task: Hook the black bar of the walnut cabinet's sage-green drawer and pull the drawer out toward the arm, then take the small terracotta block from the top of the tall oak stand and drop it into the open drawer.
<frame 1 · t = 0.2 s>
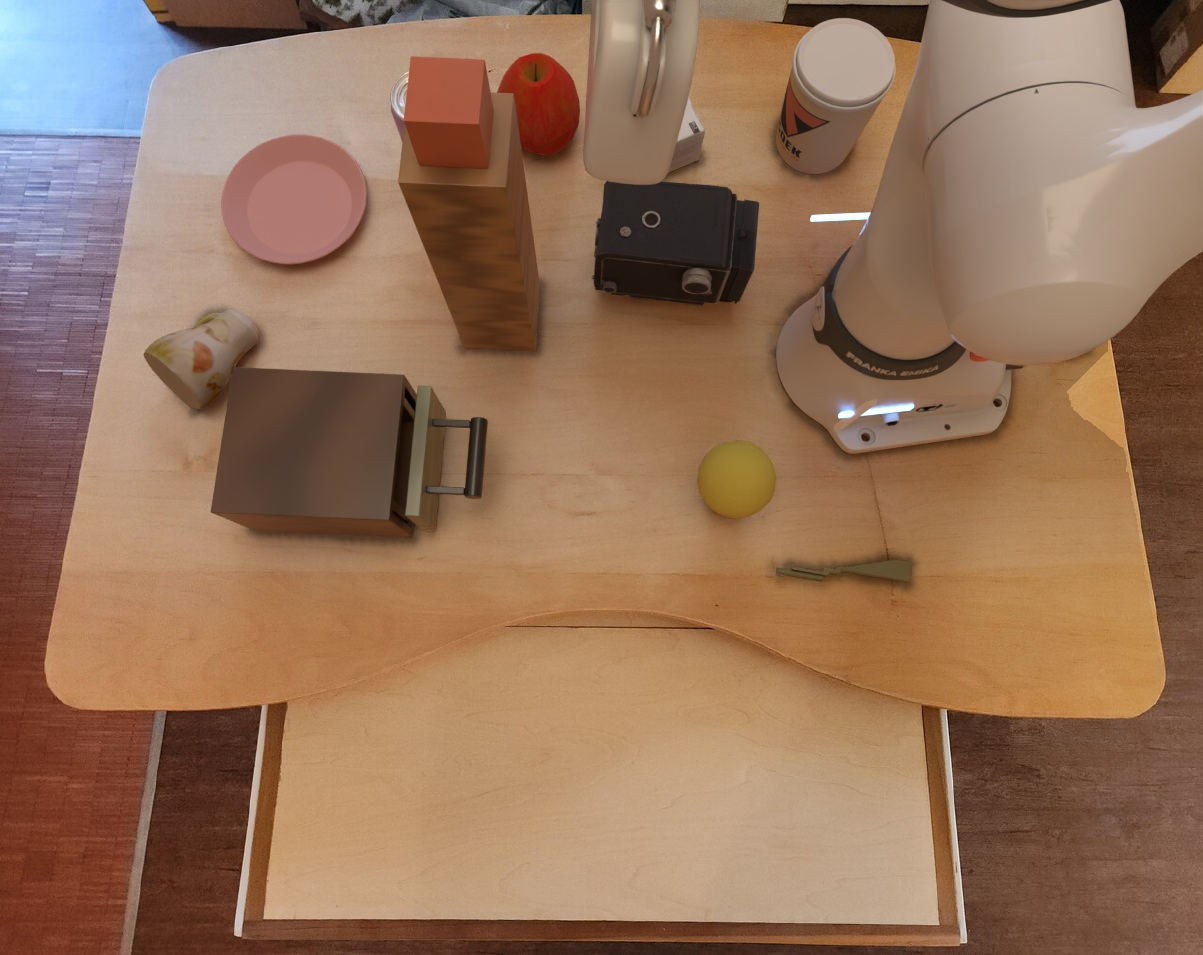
hand: (617, 69, 43), 39 cm above the table, tool pointing down, fingers open, 8 cm apart
beverage can: (453, 196, 84), on the table
drawer: (384, 458, 73), point 5 cm above the table, slide at 1.0 cm
cabinet: (341, 468, 77), on the table
block: (456, 137, 54), point 28 cm above the table, touching stand
coffee cup: (811, 143, 86), on the table
apple: (541, 137, 86), on the table
plate: (301, 209, 84), on the table
yellow rounded piece: (724, 495, 77), on the table
mug: (220, 362, 80), on the table
toy shotgun: (841, 570, 76), on the table
stand: (502, 316, 81), on the table
camera: (666, 278, 82), on the table
small box: (650, 146, 86), on the table
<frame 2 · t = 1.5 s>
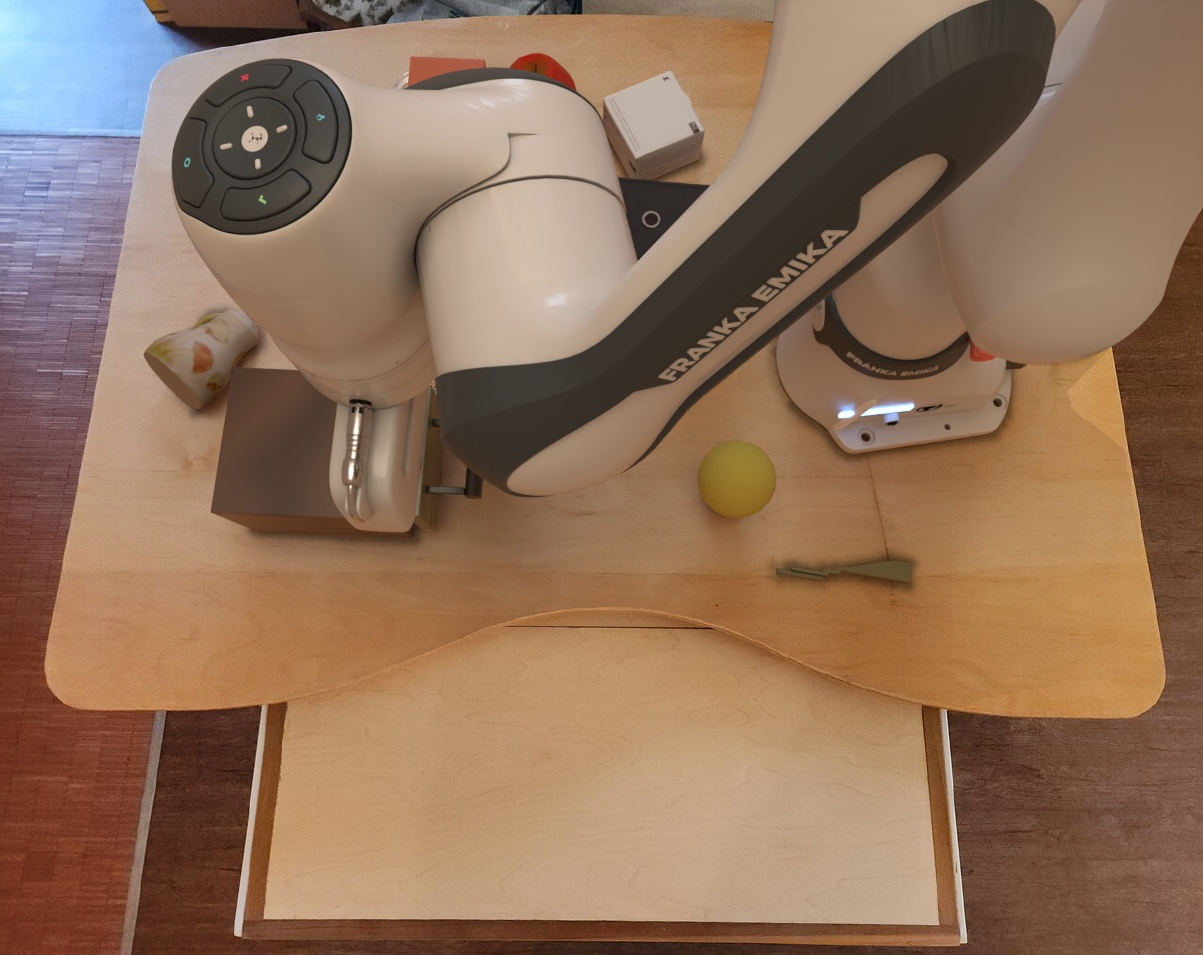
hand: (416, 403, 58), 20 cm above the table, tool pointing down, fingers open, 8 cm apart
nothing on the table moved.
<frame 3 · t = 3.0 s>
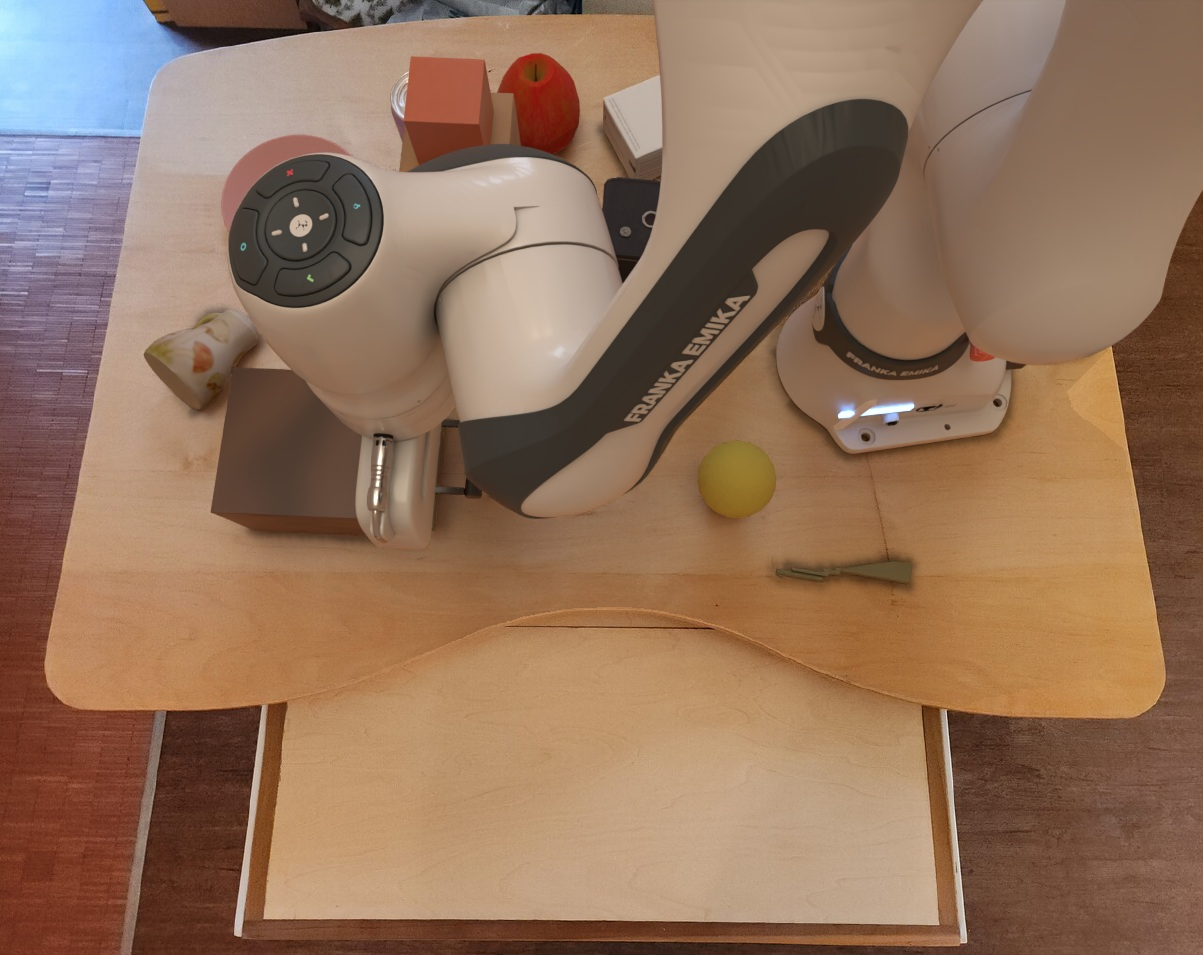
hand: (430, 429, 63), 15 cm above the table, tool pointing down, fingers closed
nothing on the table moved.
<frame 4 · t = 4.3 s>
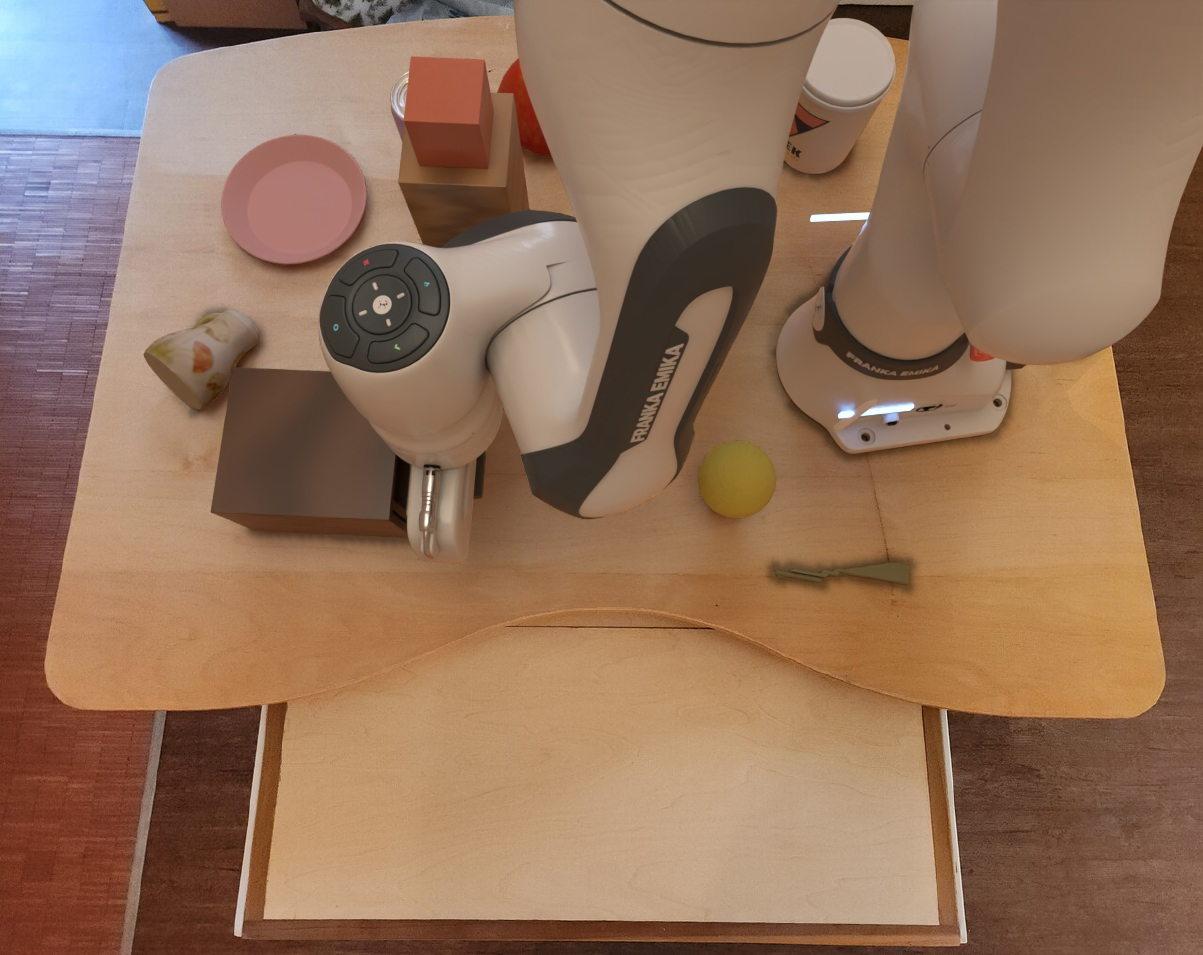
hand: (464, 454, 71), 7 cm above the table, tool pointing down, fingers closed, pressing on drawer
drawer: (384, 458, 73), point 5 cm above the table, slide at 1.1 cm, touching gripper
everything else where it was.
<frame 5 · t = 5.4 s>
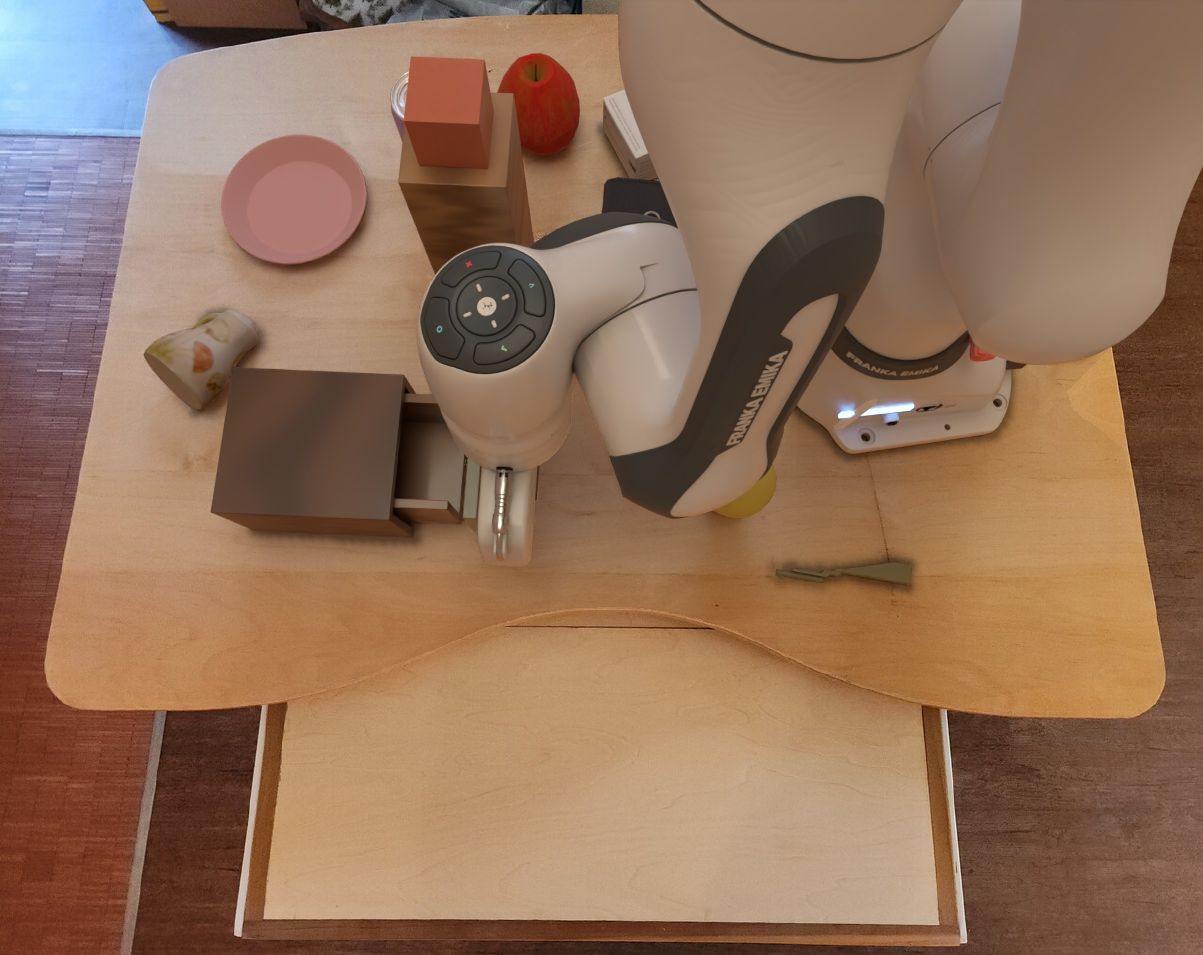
hand: (519, 457, 71), 7 cm above the table, tool pointing down, fingers closed, pressing on drawer
drawer: (437, 460, 73), point 5 cm above the table, slide at 5.8 cm, touching gripper
everything else where it was.
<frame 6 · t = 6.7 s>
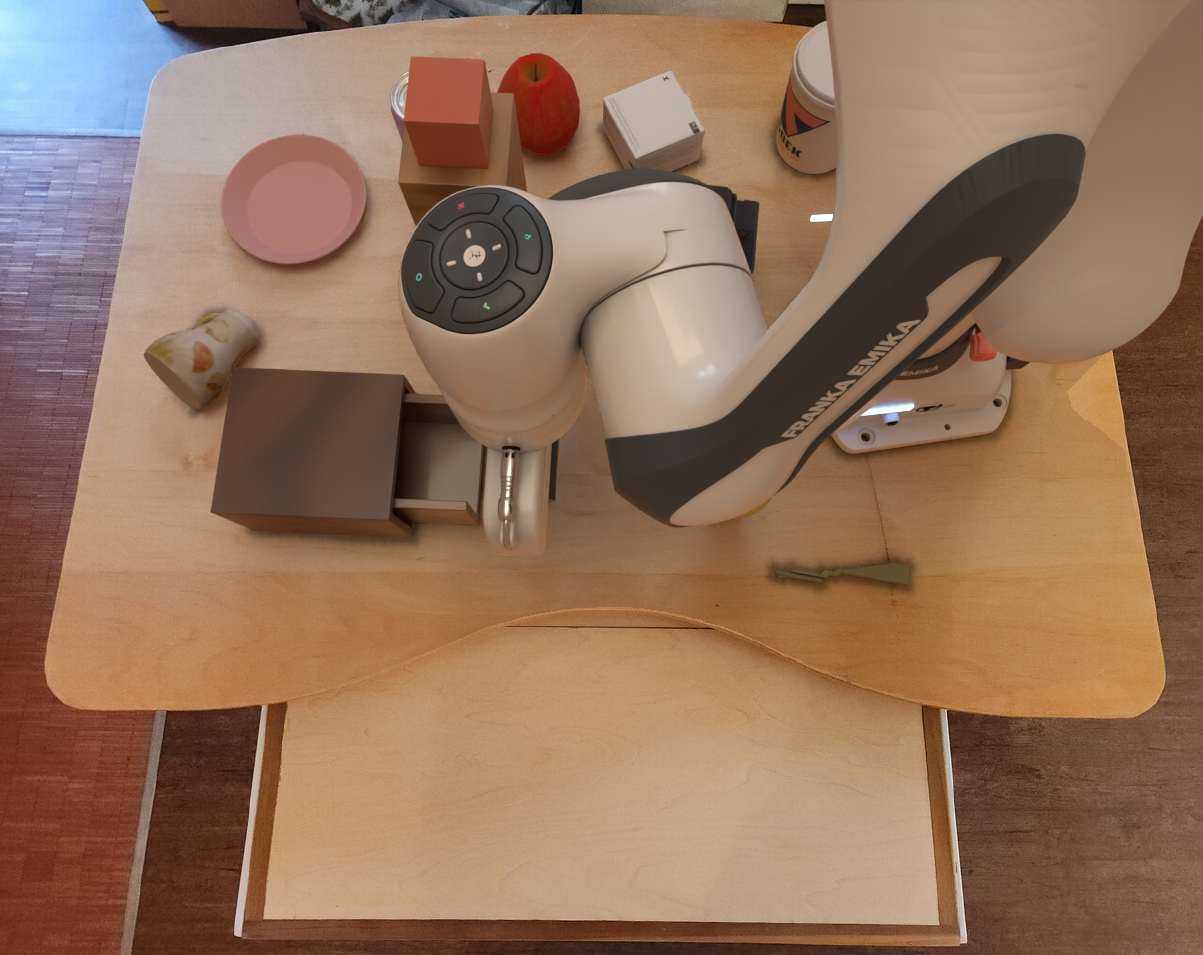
hand: (534, 438, 65), 13 cm above the table, tool pointing down, fingers closed
drawer: (455, 461, 73), point 5 cm above the table, slide at 7.3 cm
everything else where it was.
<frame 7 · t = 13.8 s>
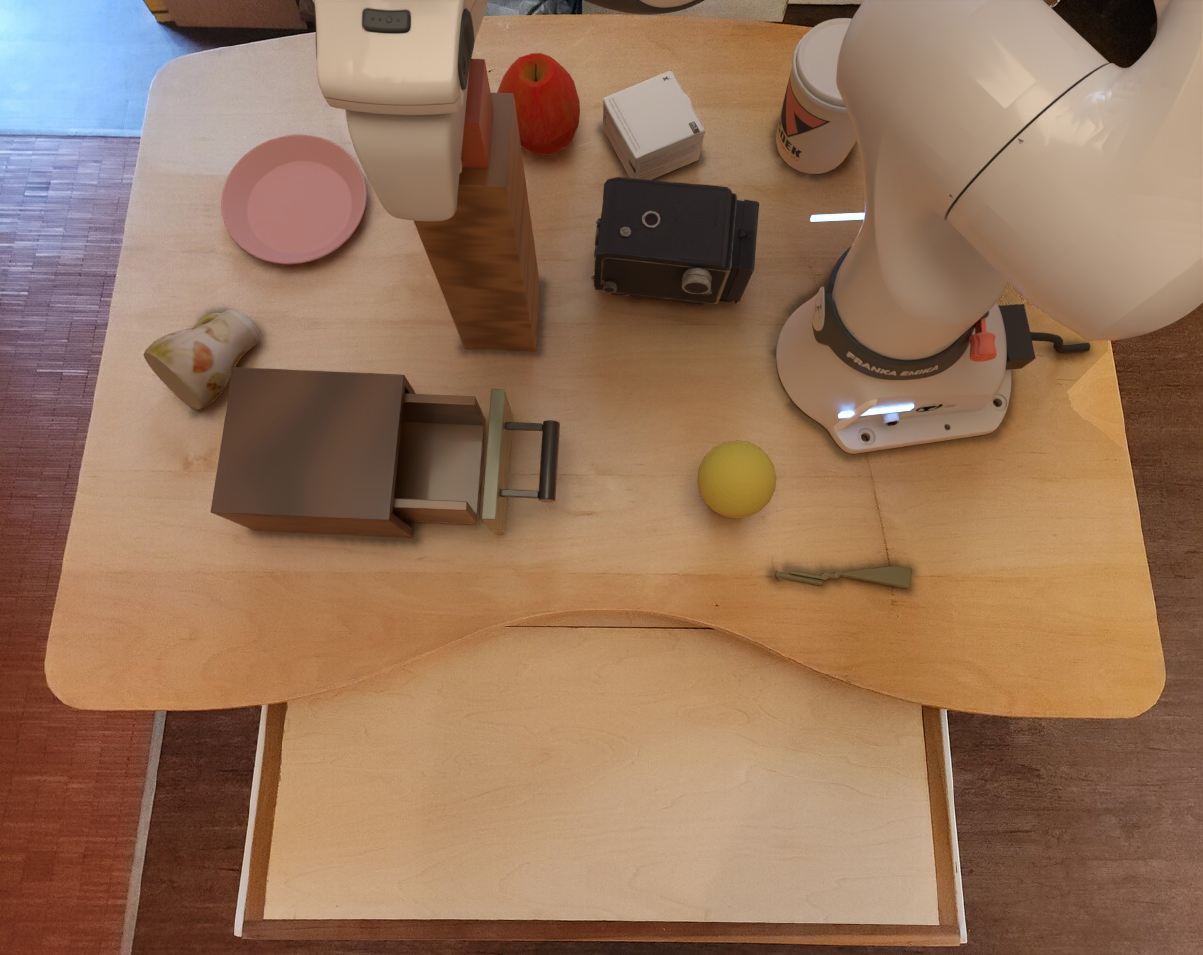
hand: (453, 124, 52), 29 cm above the table, tool pointing down, fingers closed on block, 4 cm apart
block: (456, 136, 54), point 28 cm above the table, touching gripper, stand
everything else where it was.
when the fingers open (10 cm above the table, at t = 20.8 s): block drops 6 cm, resting on drawer.
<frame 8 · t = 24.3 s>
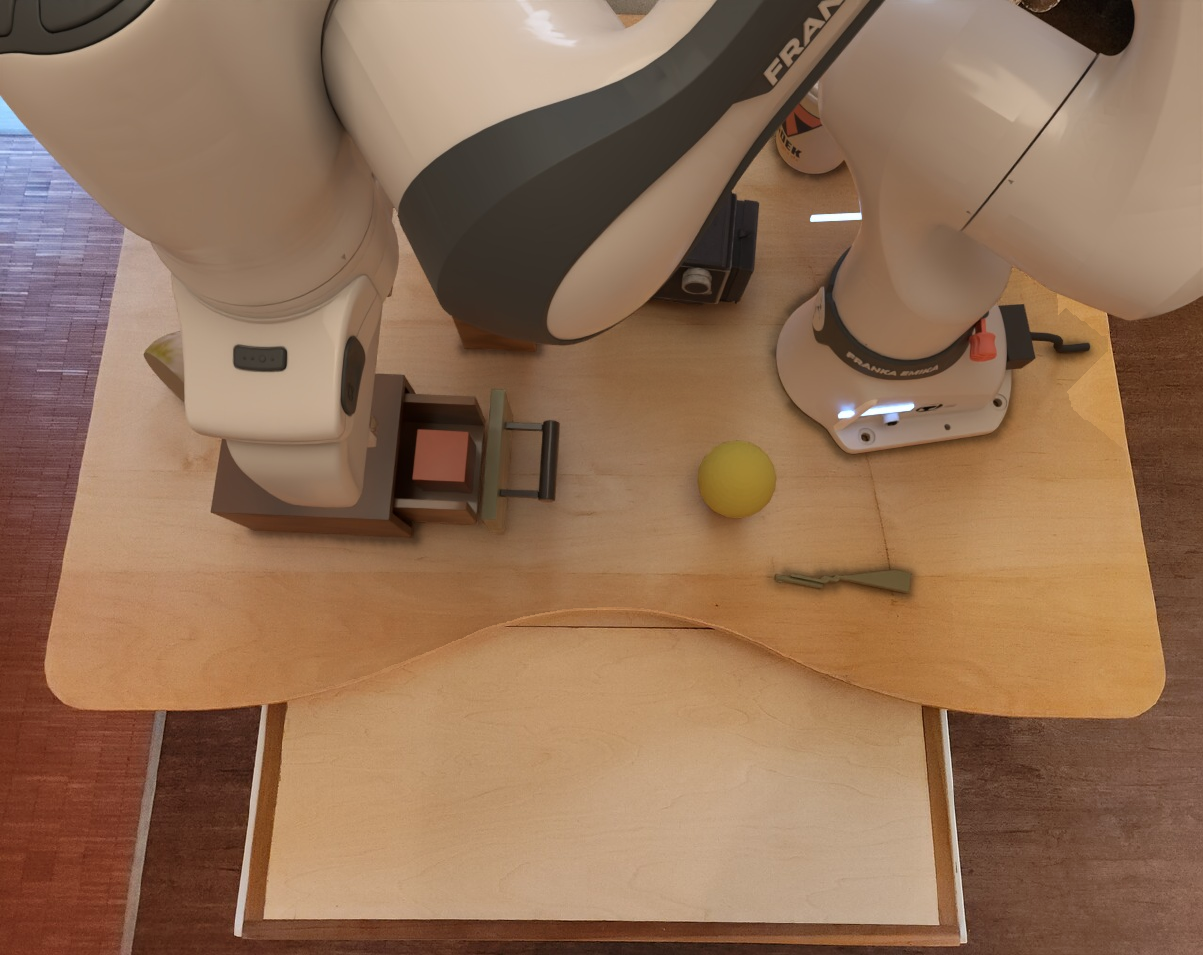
hand: (372, 359, 49), 29 cm above the table, tool pointing down, fingers open, 8 cm apart
drawer: (455, 461, 73), point 5 cm above the table, slide at 7.3 cm, touching block
block: (449, 467, 75), point 2 cm above the table, touching drawer
everything else where it was.
at the end: drawer slide at 7.3 cm; block inside the target area in the cabinet (5.5 cm from its centre), point 2.0 cm above the cabinet's base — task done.
